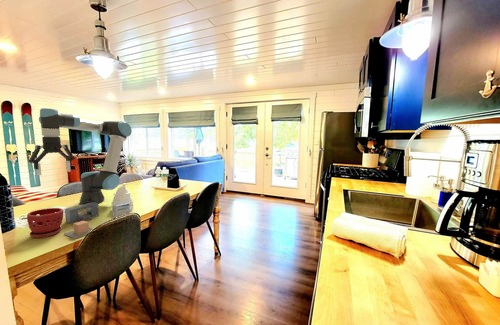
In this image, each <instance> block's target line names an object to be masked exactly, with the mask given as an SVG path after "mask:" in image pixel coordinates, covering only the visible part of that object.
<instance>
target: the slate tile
mask: <svg viewBox="0 0 500 325" xmlns="http://www.w3.org/2000/svg"><path fill="white" fill-rule="evenodd" d="M93 229H94V228H92V227H90V226H89V231H88V232H85V233H83V234H80V235H78V234H76V233H74V230H72V231H67V232H65V233H64V234H63V235H65V236H67V237H69V238H72V239H74V240H76V239H79V238H82V237H85V236H88V235H89V234H88V233H89V232H90V231H91V230H93ZM87 234H88V235H87Z"/></svg>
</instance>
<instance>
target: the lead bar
mask: <svg viewBox="0 0 500 325" xmlns="http://www.w3.org/2000/svg"><path fill="white" fill-rule="evenodd" d="M78 219H79V221H86V222H89V221H92V217H91V215H89V214H87V212H85V211H83V212H78Z"/></svg>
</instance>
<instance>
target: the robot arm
mask: <svg viewBox="0 0 500 325" xmlns="http://www.w3.org/2000/svg"><path fill="white" fill-rule="evenodd" d="M38 122H39V124H40V128H41V136H42V138H41V139H42V145H39V144H36V145H35V146H34V150H33V152H32V154H31V156H30V158H29V159H28V163H32V164H33V169H34V170H36V174H37V176H42V167H41V163H40V162H41V161H42V160H43V158H44V157H46V155H47V154H53V153H57V154H59V155H60V156H62V157H63V158H64V159H66V161H65V165H66V166H65V167H66V169H65V170H66V172H69V173H71V167H72V161H73V160H75V159H76V157H75V156H74V155H73V153H72V152H71V150H70V149H69V145H68V144H62V143H61V141H62V139H61V137H60V136H61V131H60V128H63V129H70V130H77V131H83V132H84V131H86V132H93V133H94V134H98V135H104V136H109V138H110V140H109V144H108V148H107V152H106V155H105V156H106V157H105V159H104V163H103V166H102V168H101V169H100V170H97V171H89V172H88V171H87V172H83V173H82V174H81V175H80V183H81V196H80V199H79V204H80V205H83V204H88V203H92V202H95V203H98V204H99V203H103V202H104V201H105V196H104V194H103V191H102V190H105V191H112V190H115V189H116V188H117V187H118V186H119V184H120V183H121V178H120V175H119V173H118V171H117V169H118V165H119V161H120V157H121V152H122V149H123V145H124V142H125V141H127V138H128V137H130V136H131V135H132V131H133V130H132V126H131V125H130V123H129V122H127V121H122V120H121V121H119V120H118V121H116V120H115V121H113V120H110V121H109V120H108V121H107V120H106V121H102V120H101V121H100V120H95V121H91V120H86V119H81V118H80V116H78V115H76V114H71V113H70V114H67V113H59V110H58V109H55V108H46V107H45V108H40V109H39V117H38ZM42 149H43V150H42ZM62 149H63V150H64V151H63V150H62ZM41 150H42V151H41ZM40 151H41V153H40ZM39 153H40V154H39Z"/></svg>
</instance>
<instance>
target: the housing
mask: <svg viewBox="0 0 500 325" xmlns="http://www.w3.org/2000/svg"><path fill="white" fill-rule="evenodd" d="M82 210H86V213H87V214H89V215H91V218H96V217H99V203H95V202H92V203H88V204H80V205H77V206H76V205H75V206H71V207H67V208H64V216H65V223H67V224H70V225H72V224H73V223H77V222H80V220H79V219H78V213H79V211H82Z"/></svg>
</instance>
